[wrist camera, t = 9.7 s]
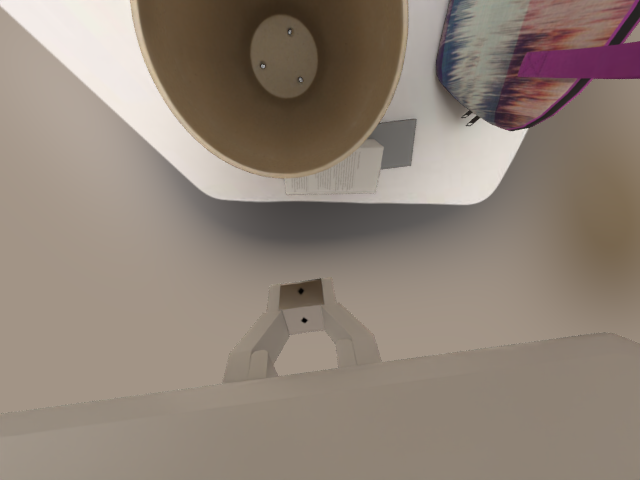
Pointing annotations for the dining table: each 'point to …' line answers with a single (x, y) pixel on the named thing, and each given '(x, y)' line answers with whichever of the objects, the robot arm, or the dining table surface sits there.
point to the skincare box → (343, 174)
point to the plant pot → (275, 75)
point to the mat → (395, 142)
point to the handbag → (533, 54)
